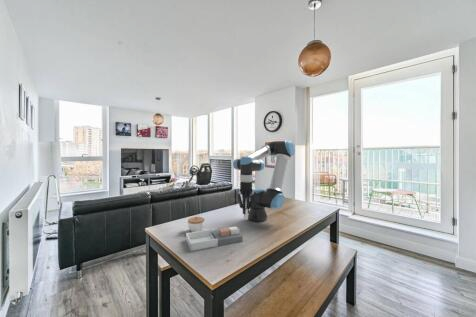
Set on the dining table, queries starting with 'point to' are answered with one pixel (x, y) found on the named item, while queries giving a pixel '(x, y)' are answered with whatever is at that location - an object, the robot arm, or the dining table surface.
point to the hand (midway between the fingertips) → (245, 219)
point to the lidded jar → (196, 224)
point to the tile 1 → (224, 232)
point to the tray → (201, 240)
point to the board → (227, 238)
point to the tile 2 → (233, 230)
